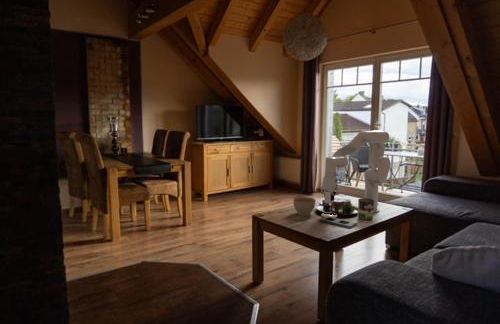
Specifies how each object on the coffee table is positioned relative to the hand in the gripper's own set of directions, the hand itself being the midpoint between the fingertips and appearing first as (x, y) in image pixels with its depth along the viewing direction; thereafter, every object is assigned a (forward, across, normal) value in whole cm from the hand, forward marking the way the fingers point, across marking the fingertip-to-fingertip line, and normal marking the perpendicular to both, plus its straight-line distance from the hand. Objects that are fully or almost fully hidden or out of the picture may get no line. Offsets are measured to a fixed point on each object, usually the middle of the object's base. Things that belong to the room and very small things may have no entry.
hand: (329, 199), depth 258 cm
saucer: (+12, 0, 0) cm, 12 cm away
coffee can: (+12, -23, -9) cm, 28 cm away
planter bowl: (+13, +16, +8) cm, 22 cm away
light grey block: (+2, 0, 0) cm, 2 cm away
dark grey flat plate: (+12, -13, +10) cm, 20 cm away
